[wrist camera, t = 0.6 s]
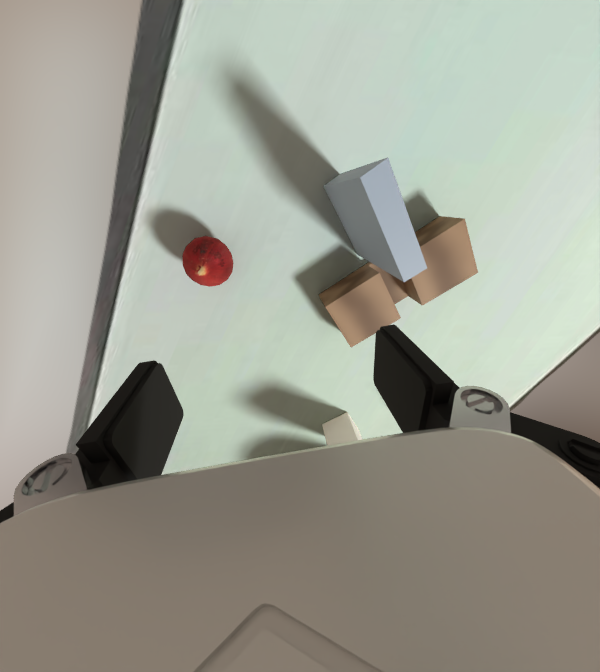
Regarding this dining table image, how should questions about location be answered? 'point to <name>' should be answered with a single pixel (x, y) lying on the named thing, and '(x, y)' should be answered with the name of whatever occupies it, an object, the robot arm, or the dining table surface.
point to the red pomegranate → (207, 261)
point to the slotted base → (386, 290)
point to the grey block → (377, 218)
